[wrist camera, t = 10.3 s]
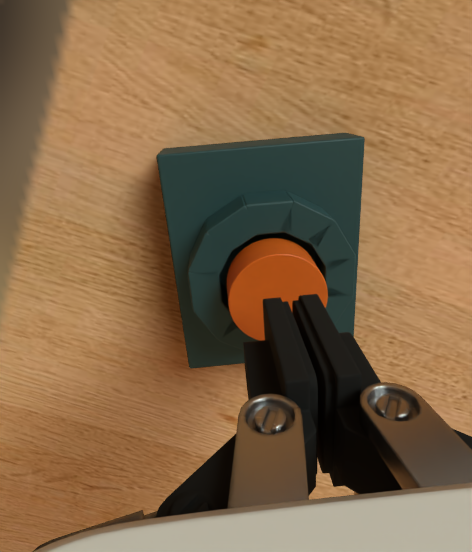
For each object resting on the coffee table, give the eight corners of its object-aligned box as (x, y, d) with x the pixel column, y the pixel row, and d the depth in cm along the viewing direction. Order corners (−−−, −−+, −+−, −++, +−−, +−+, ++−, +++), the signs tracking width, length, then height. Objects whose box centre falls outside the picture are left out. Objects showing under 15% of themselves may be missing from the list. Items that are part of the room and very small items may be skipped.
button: (222, 241, 15) (223, 259, 13) (316, 233, 15) (329, 249, 13) (230, 323, 16) (232, 347, 15) (315, 315, 16) (327, 338, 15)
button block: (162, 148, 17) (148, 161, 13) (347, 132, 17) (384, 141, 13) (191, 343, 21) (187, 395, 17) (339, 329, 21) (366, 377, 17)
